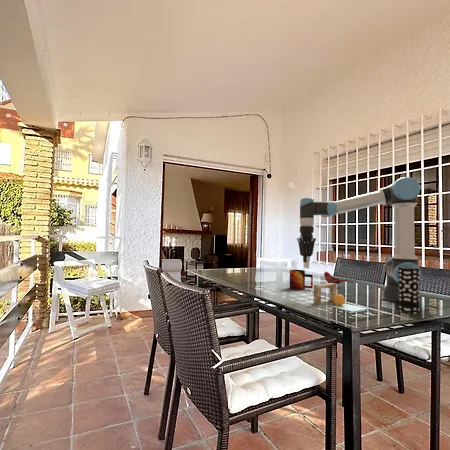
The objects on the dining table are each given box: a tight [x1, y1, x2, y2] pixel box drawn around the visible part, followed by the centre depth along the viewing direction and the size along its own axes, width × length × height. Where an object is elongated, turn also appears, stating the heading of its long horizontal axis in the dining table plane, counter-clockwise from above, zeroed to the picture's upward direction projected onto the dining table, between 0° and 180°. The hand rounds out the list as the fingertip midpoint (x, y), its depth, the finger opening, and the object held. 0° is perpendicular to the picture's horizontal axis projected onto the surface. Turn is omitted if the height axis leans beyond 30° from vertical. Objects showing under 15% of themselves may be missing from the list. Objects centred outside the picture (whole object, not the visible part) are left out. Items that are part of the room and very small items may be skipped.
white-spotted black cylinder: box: [397, 267, 420, 315], centre depth 141 cm, size 8×8×20 cm
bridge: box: [313, 282, 338, 305], centre depth 158 cm, size 3×14×9 cm, turn 123°
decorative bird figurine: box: [323, 271, 347, 285], centre depth 207 cm, size 3×18×10 cm, turn 42°
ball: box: [332, 293, 346, 306], centre depth 151 cm, size 6×6×6 cm
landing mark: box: [330, 303, 368, 313], centre depth 146 cm, size 12×12×1 cm
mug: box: [289, 269, 314, 291], centre depth 198 cm, size 10×14×12 cm
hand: (306, 268), depth 169 cm, fingers closed
